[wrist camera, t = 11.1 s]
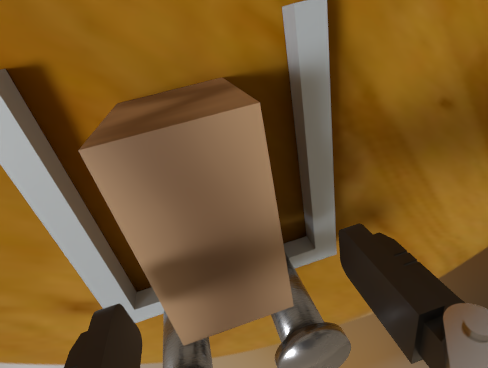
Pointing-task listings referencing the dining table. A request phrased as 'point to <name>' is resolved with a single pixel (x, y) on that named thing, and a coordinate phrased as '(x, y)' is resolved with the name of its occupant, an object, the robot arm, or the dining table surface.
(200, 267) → the tan wooden block
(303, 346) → the bosses
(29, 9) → the dining table surface
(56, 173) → the guide rails
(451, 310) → the robot arm
